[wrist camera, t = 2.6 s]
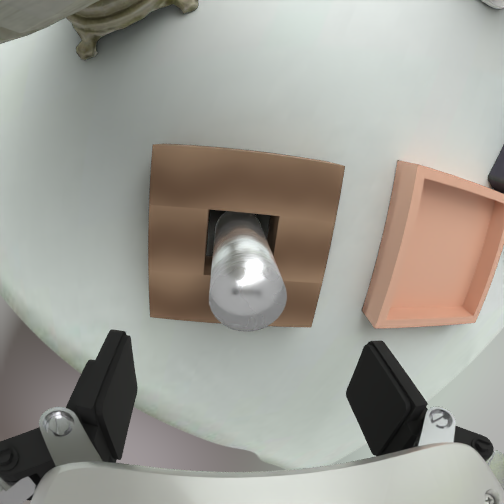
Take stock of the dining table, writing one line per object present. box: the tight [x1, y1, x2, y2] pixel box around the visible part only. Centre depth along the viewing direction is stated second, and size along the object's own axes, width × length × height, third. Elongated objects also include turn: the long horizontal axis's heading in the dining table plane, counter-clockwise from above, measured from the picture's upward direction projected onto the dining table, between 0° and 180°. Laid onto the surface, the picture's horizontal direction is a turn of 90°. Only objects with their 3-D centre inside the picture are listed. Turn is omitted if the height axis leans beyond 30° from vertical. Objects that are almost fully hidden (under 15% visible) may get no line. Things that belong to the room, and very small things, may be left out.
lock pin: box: [209, 211, 287, 331], centre depth 21 cm, size 4×4×12 cm
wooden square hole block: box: [148, 144, 345, 327], centre depth 25 cm, size 14×14×4 cm
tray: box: [362, 160, 504, 329], centre depth 28 cm, size 16×16×4 cm
